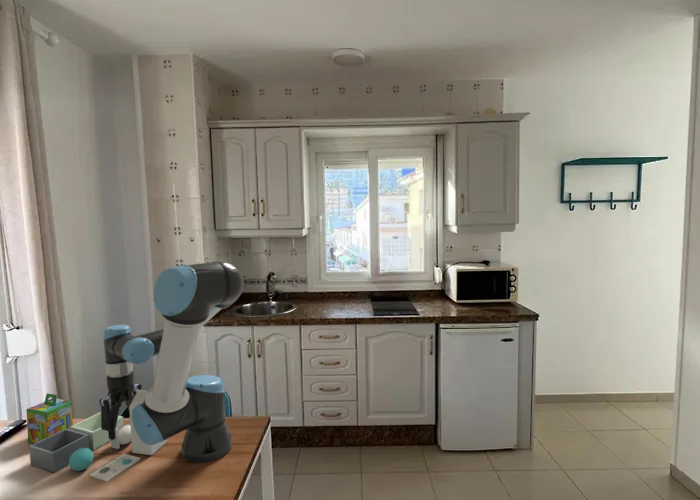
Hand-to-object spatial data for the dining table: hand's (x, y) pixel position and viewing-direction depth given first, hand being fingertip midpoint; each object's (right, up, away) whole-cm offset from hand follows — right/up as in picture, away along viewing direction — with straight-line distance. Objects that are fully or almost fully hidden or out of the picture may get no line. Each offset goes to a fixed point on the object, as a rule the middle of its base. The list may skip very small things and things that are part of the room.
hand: (124, 442), depth 130 cm
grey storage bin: (-15, -1, -8) cm, 17 cm away
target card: (+4, -1, -12) cm, 13 cm away
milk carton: (+9, -1, -3) cm, 10 cm away
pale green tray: (-11, 0, +3) cm, 11 cm away
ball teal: (-5, -2, -13) cm, 14 cm away
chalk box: (-28, -1, +5) cm, 28 cm away
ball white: (0, 0, 0) cm, 0 cm away
